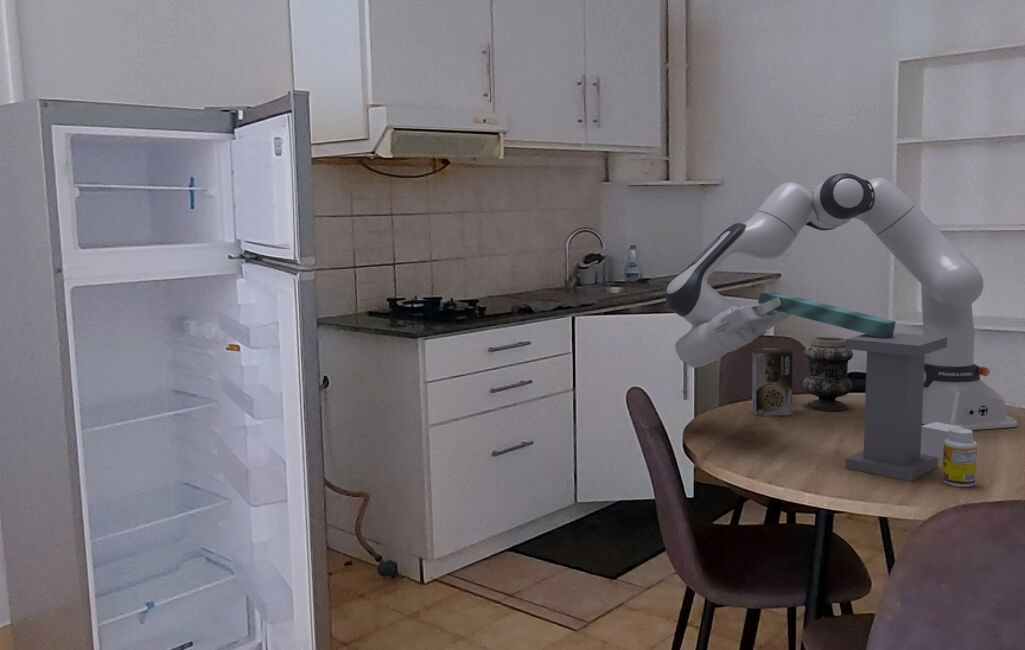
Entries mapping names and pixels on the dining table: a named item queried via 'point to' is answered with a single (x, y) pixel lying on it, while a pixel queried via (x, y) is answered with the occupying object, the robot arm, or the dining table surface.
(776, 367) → the coffee box
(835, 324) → the teal block
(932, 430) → the grey cube piece
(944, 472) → the supplement bottle
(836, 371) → the apothecary jar
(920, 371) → the pedestal
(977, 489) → the dining table surface
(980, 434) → the dining table surface
